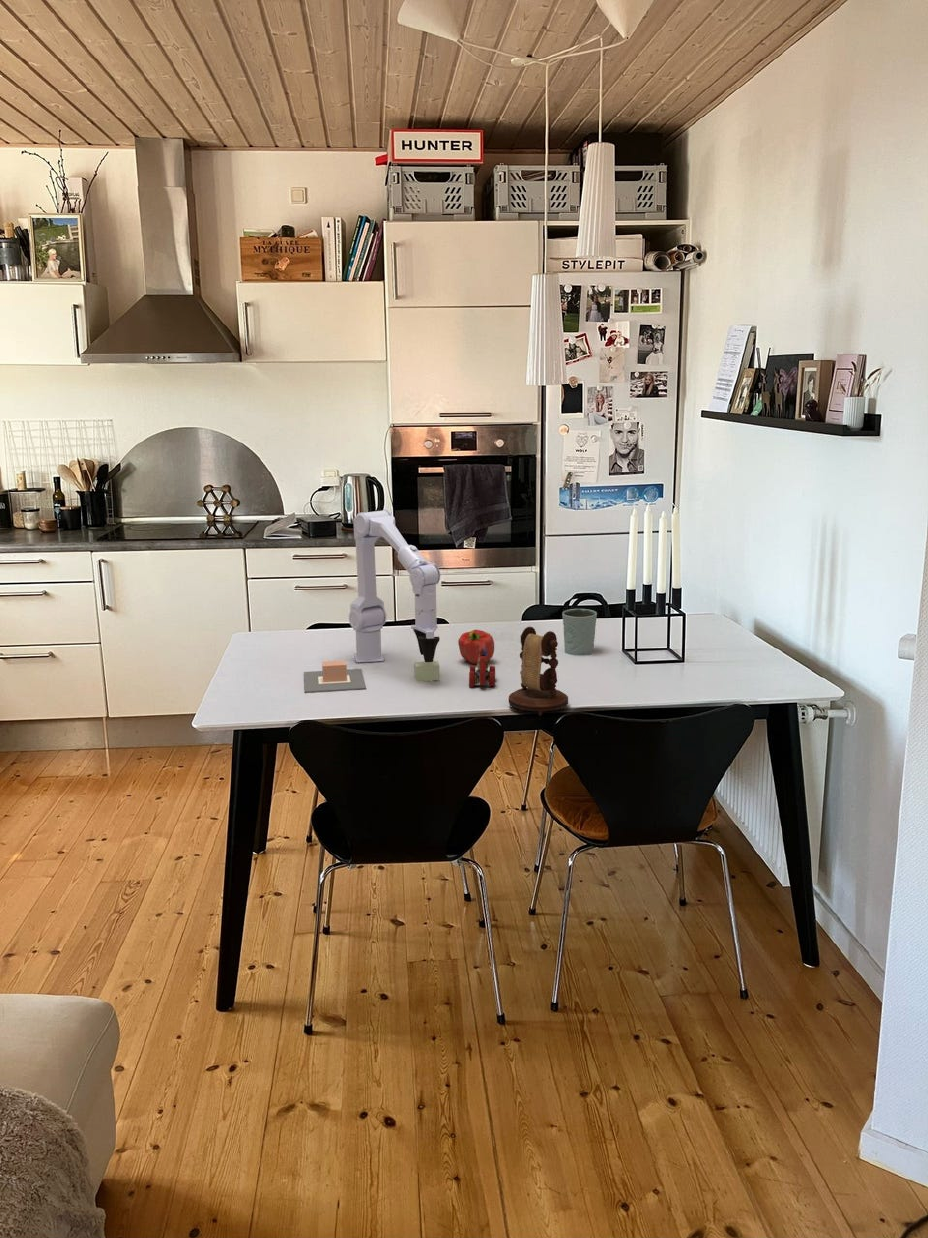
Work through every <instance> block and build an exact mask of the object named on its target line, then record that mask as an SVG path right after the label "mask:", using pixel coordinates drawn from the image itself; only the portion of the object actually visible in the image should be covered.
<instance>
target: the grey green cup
mask: <svg viewBox="0 0 928 1238" xmlns="http://www.w3.org/2000/svg"><path fill="white" fill-rule="evenodd" d="M561 616H562V625H563V642H564V643H563V644H564V653H566V654H568V655H571V656H589V655H592V654H593V653H594V652H595V651H594V650H595V639H596V638H595V636H596V625H597V616H598V613H597V611H595V610H592V609H589V608H587V609H586V608H572V609H566V610H564V611H562V615H561Z"/></svg>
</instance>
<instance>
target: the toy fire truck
mask: <svg viewBox="0 0 928 1238" xmlns="http://www.w3.org/2000/svg"><path fill="white" fill-rule="evenodd" d="M486 655H487V650H486V642H480V657H479V659H478V664H476V665H470V666H469V673H468V687H470V686H474V687H475V686H476V685H480V686H486V682H488V687H490V686H494V687H495V685H496V684H495V683H496V665H490V666H489V663H488V662H487V660H486ZM476 667H477V669H476ZM488 668H489V669H488Z"/></svg>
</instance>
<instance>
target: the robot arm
mask: <svg viewBox="0 0 928 1238" xmlns="http://www.w3.org/2000/svg"><path fill="white" fill-rule="evenodd" d="M380 537H382V538H383V539H384V540H385V541H386V542H387V543H388V544H389V545H390V546H391V547H392V548H393V549H394V550H395V551H396V552H397V560H398V561H399V562H400V564H401V565H402V566H403V567H404V569H405V570H406V571H407V572H408V574H409V576H408V578H409V581H410V583H411V586H412V591H413V594H414V615H415V616H414V620H415V621H414V622H415V624H411V625H410V628H411V629H412V630H413V633H414V634H415V637H416V641H417V644H418V650H419V654H420V655H421V656H423V659H424V660H423V661H425V662H433V661H435V660H434V659H435V654H436V648H437V645H438V643H439V642H440V636H435V632H436V630H437V629H438V624H437V621H438V620H437V585H438V584H439V582H440V580H441V571H440V569H439V567H438V566H437V564H436V563H434V562H430V561H427V560H426V558H425V557H424V556H423V555H422V553H421V552H420V551H419V549H418V548H417V547H416V546H415V545H412V544H408V543H407V541H406V539H405V538H404V537H403V535H402V534H401V532H400V531H399V529H398V528H397V526H396V519H395V516H393V514H392V512H391V511H390V510H388V509H383V510H376V511H369V512H367V511H366V512H362V511H361V512H358V513H357V514H356V516H355V517H354V518H353V539H354V541H355V554H356V574H357V575H356V577H357V595H358V596H357V597H356V598H355V599H354V600H353V601H352V602H351V603H350V604H349V606H350V609H349V610H350V611H349V613H348V614H349V615H348V622H349V625H350V627H351V628H352V629H353V631H355V650H356V651H355V652H354V653H353V655H354V658H355V662H356V664H357V663H371V662H372V663H374V662H384V659H385V658H384V656H383V653H382V636H381V635H382V632H381V630H382V629H383V625H385V624H386V621H387V612H386V609H385V604H384V602H385V601H383V600H382V599H381V598H379V597H378V595H377V573H376V572H377V571H376V570H377V569H376V552H375V550H376V548H375V547H376V546H375V543H376V542H377V541H378V539H379V538H380Z"/></svg>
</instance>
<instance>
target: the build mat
mask: <svg viewBox="0 0 928 1238" xmlns="http://www.w3.org/2000/svg"><path fill="white" fill-rule="evenodd" d="M303 682H304V683H303V684H304V693H305V694H313V693H324V692H325V693H327V692H343V691H344V692H346V691H358V689H362V690H367V686H366V682H365V678H364V674H363V670H362V668H352V669H351V668H348V669H347V681H337V682H323V674H322V670H318V671H317V670H316V671H315V670H314V671H304V672H303Z"/></svg>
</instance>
